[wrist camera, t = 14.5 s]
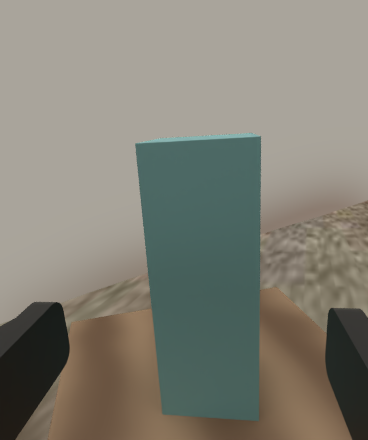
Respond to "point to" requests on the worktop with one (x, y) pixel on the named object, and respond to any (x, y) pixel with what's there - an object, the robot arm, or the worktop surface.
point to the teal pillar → (204, 270)
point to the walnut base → (187, 425)
